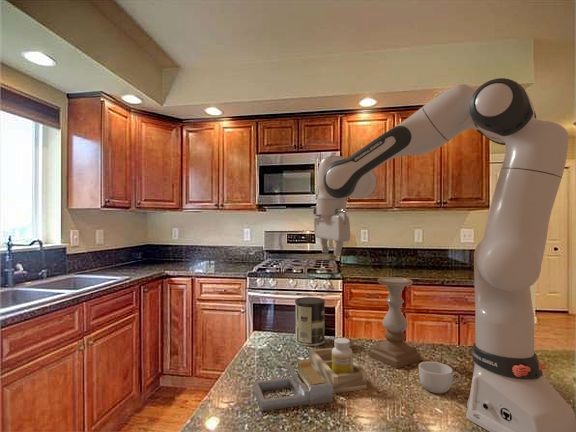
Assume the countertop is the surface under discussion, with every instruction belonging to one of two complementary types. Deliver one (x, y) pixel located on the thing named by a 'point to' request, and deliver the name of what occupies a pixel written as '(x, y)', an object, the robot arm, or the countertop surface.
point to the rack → (340, 382)
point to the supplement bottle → (342, 356)
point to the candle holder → (395, 328)
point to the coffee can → (310, 321)
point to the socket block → (301, 392)
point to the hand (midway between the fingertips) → (330, 254)
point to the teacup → (436, 376)
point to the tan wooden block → (308, 374)
